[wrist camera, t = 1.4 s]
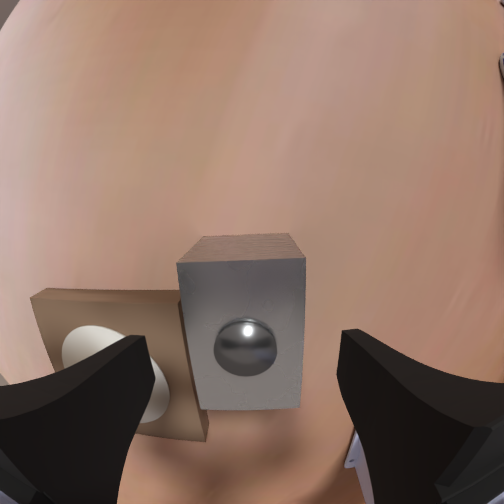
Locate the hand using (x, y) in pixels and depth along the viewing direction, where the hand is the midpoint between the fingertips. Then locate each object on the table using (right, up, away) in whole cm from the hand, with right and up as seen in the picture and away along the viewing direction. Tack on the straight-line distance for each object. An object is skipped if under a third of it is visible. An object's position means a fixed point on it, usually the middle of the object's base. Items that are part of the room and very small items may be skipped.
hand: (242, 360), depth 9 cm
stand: (-9, -4, +7) cm, 12 cm away
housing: (0, +1, +6) cm, 6 cm away
